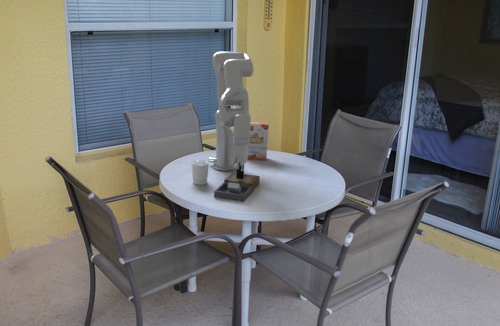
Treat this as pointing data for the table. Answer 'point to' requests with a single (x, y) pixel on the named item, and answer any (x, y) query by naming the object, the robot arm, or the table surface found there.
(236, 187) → the tile
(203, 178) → the white cup
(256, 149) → the cracker box
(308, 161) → the table surface
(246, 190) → the tray
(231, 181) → the board
